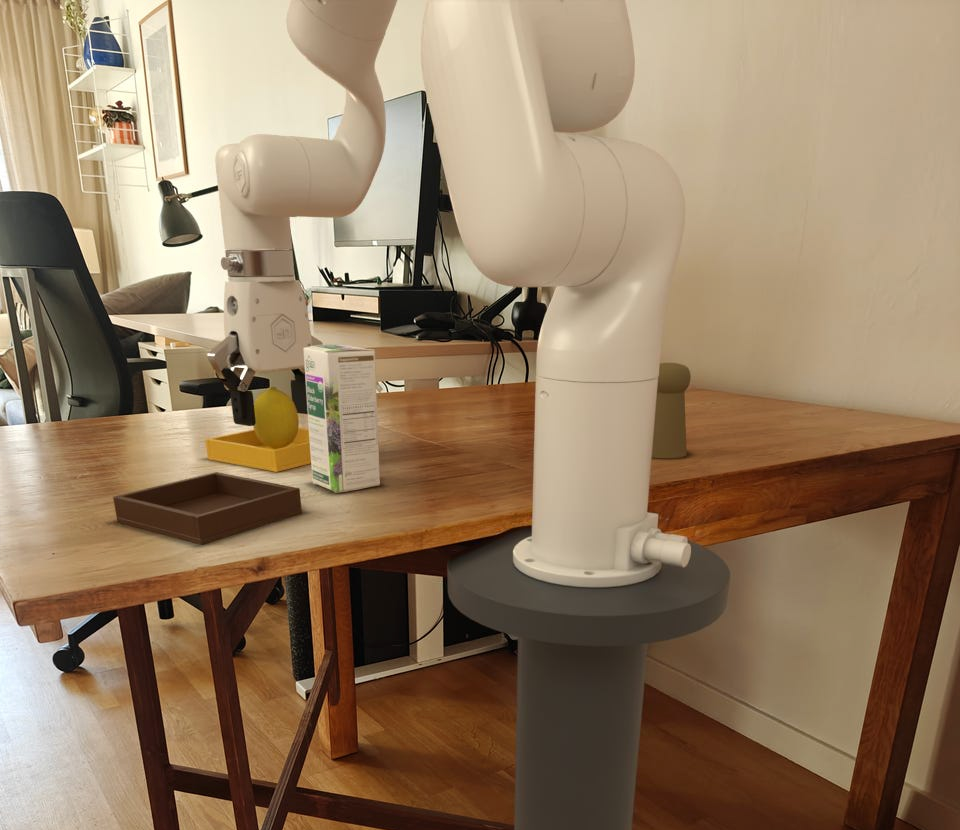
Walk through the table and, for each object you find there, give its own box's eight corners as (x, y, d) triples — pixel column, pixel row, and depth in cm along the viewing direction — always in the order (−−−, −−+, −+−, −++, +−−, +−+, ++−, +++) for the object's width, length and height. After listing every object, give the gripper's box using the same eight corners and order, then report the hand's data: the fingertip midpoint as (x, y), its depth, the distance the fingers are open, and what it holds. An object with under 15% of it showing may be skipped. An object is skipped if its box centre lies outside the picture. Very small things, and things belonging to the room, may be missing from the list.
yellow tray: (348, 453, 110) (346, 434, 109) (276, 472, 100) (274, 450, 99) (280, 443, 116) (278, 424, 115) (207, 459, 107) (205, 439, 106)
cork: (645, 458, 107) (652, 366, 102) (633, 448, 112) (639, 360, 108) (692, 458, 107) (702, 366, 103) (678, 448, 113) (686, 360, 108)
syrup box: (310, 483, 95) (299, 346, 89) (357, 476, 99) (349, 342, 93) (335, 494, 91) (325, 350, 85) (383, 485, 94) (376, 346, 88)
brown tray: (302, 513, 85) (299, 488, 84) (201, 544, 75) (197, 517, 74) (219, 495, 91) (216, 471, 90) (117, 522, 82) (112, 496, 81)
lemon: (297, 446, 111) (292, 382, 108) (303, 455, 106) (298, 388, 103) (254, 449, 110) (247, 384, 106) (258, 458, 105) (251, 390, 101)
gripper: (223, 269, 91) (241, 433, 98) (336, 267, 104) (345, 412, 111) (177, 268, 95) (198, 426, 102) (292, 266, 108) (304, 406, 115)
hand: (275, 418), depth 106 cm, fingers open, 9 cm apart
